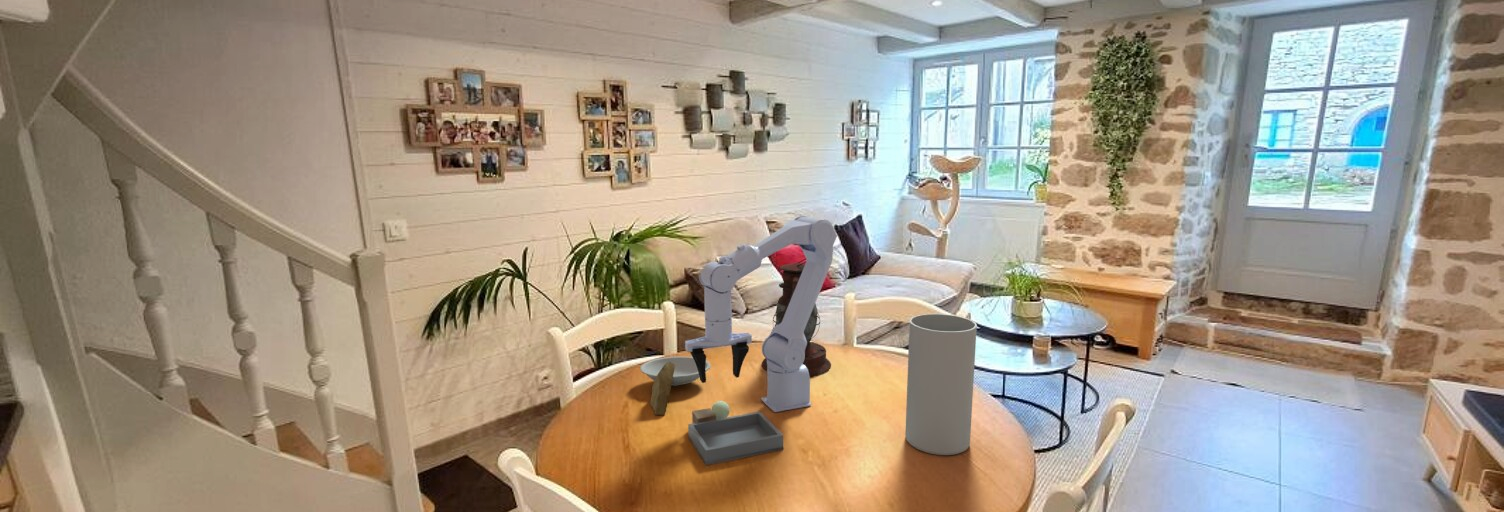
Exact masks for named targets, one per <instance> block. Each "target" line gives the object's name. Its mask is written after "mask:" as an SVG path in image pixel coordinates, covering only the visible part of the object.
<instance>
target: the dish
mask: <svg viewBox="0 0 1504 512" xmlns="http://www.w3.org/2000/svg"><path fill="white" fill-rule="evenodd" d="M667 362H671V363H673V364H674V365H675V369H674V374H673V379H672V384H671V386H673V387H678V386H681V385H687V384H689V383H692V382H694V381H696V380H698V379H700V377H699V372H698V369H697V366H696V363H695V361H694V359H693V357H692V356H667V357H660V358H655V359H652V360H648V361H647V362H646V361H645V362H644V363H643V364H641V366H640V368H639V369H640V372H641V373H643V374H645V375H646V376H647V377H648V378H649V379H650V380H653V381H655V380H656V377H657V375H658V373H659V372H660V370H661V369H662V367H663V366H664V365H665V364H666V363H667ZM711 367H712V364H711V363H710V361H708V360H706V365H705V372H707V371H709V370H710V369H711Z"/></svg>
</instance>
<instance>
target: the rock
mask: <svg viewBox="0 0 1504 512" xmlns="http://www.w3.org/2000/svg"><path fill="white" fill-rule="evenodd" d="M674 369H675V365H674V364H673V363H671V362H667V363H666V364H665V365H664V366H663V367H662V369H661V370H660V372H659V373H658V375H657V377H656V380H655V381H654V380H653V381H654V382H653V383H652V386H651V396H650V397H651V398H650V401H649V403H650V406H651V408H652V410H653V411H654V412H653V413H654V414H655V415H659V416H665V415H666V413H667V408H668V404H669V399H670V392H671V389H672V385H671V384H672V379H673V374H674Z"/></svg>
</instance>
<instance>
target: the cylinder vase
mask: <svg viewBox="0 0 1504 512" xmlns="http://www.w3.org/2000/svg"><path fill="white" fill-rule="evenodd" d="M977 328H978V327H977V323H976V322H975V321H973V320H972V319H970V318H967V317H963V316H960V315H959V316H958V315H956V314H955V315H953V314H944V313H924V314H919V315H915V316H912V317H910V319H909V327H908V353H907V354H908V356H907V359H908V360H907V378H906V379H907V382H906V408H905V431H904V432H905V439H906V441H907V442H908V443H909V445H911V446H912V448H915V449H917V450H919V451H921V452H924V453H926V454H927V453H928V454H931V455H936V456H953V455H958V454H961V453H963V452H965V451H966V450H968V448H969V447H970V445H971V435H972V434H971V433H972V432H971V429H972V416H973V415H972V413H973V396H974V381H975V379H974V378H975V363H976V361H975V360H976V344H977V343H976V342H977Z"/></svg>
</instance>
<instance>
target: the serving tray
mask: <svg viewBox="0 0 1504 512" xmlns="http://www.w3.org/2000/svg"><path fill="white" fill-rule="evenodd" d="M687 425H688V427H687V428H688V439H689V441H690V442H691V444H692V446H693V447H694V448H695V450H696V451H697V453H698V455H699V457H700V458H701V459H702V461H703V463H704V464H705V466H711V465H715V464H719V463H723V462H729V461H734V460H738V459H743V458H749V457H754V456H757V455H758V456H759V455H763V454H768V453H772V452H778V451H783V450H784V434H783V433H782V432H781V431H780V430H779V429H778V428H777V427H776V426H775V425H774V424H773V422H771V421H770V420H769V419H768V418H767V417H766V416H765V415H764V413H763V412H761V411H755V412H750V413H744V414H738V415H732V416H727V417H726V418H721V419H715V420H709V421H704V422H698V423H688V424H687Z"/></svg>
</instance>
